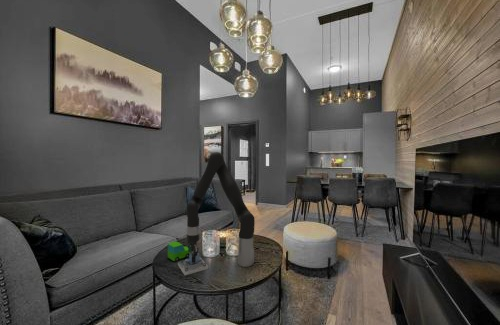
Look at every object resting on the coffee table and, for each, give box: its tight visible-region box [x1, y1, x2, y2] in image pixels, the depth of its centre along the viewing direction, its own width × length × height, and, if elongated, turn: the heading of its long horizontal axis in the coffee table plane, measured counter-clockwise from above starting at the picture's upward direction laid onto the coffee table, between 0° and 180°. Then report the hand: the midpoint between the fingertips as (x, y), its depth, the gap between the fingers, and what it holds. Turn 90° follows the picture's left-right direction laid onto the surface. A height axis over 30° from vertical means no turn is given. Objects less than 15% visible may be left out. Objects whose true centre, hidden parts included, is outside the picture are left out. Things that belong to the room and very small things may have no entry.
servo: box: [185, 252, 203, 264], centre depth 131 cm, size 10×4×6 cm, turn 123°
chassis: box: [177, 255, 209, 276], centre depth 131 cm, size 14×14×3 cm
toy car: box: [167, 241, 190, 263], centre depth 143 cm, size 10×13×10 cm
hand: (192, 260), depth 131 cm, fingers closed on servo, 2 cm apart
